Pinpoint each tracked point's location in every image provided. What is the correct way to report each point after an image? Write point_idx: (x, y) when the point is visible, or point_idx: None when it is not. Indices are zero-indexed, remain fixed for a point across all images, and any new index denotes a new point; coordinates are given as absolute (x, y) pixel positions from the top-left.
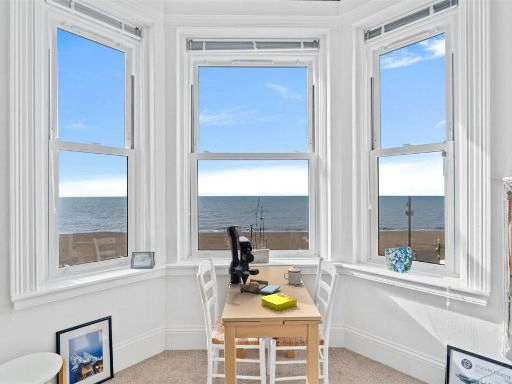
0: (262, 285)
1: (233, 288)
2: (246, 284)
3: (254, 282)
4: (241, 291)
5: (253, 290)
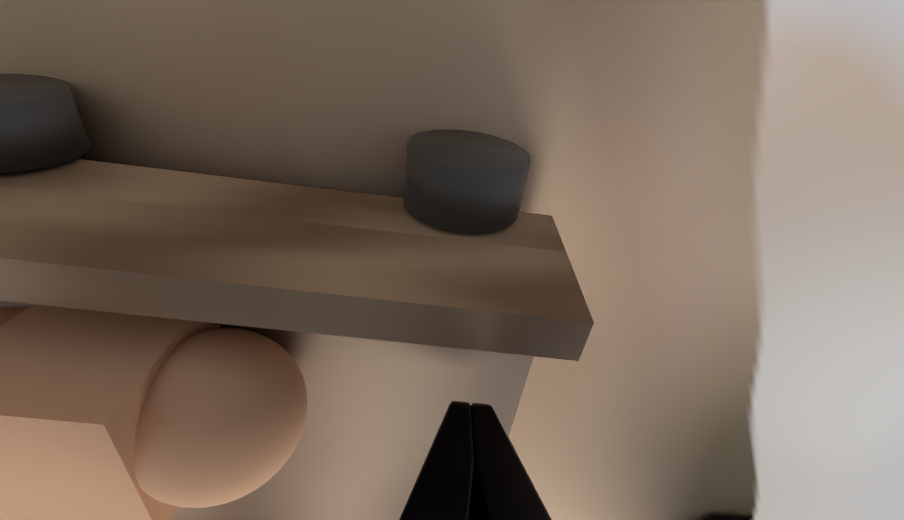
0: None
1: (753, 335)
2: None
3: (35, 485)
4: (479, 137)
5: (66, 174)
